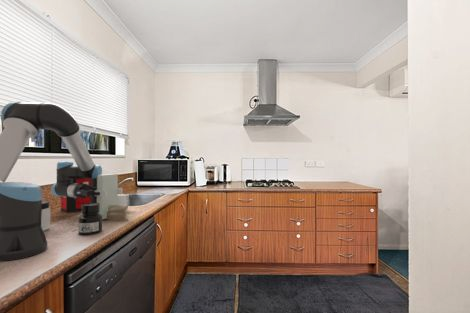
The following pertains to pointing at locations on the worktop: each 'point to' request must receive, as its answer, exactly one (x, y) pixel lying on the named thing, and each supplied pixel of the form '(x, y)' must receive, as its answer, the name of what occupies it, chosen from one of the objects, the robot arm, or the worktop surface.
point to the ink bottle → (90, 219)
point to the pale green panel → (111, 186)
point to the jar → (45, 215)
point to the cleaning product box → (76, 203)
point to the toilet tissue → (121, 200)
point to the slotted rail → (117, 212)
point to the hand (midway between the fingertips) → (114, 192)
